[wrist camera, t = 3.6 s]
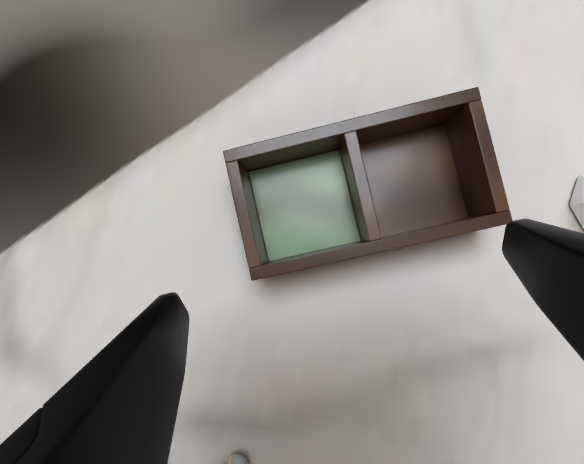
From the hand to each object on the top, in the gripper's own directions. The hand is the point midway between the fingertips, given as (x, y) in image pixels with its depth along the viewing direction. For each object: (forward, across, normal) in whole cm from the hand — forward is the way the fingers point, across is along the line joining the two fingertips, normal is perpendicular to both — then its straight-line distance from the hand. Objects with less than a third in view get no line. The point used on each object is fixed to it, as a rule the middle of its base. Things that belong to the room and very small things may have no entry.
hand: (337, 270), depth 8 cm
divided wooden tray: (+14, -3, +5) cm, 16 cm away
